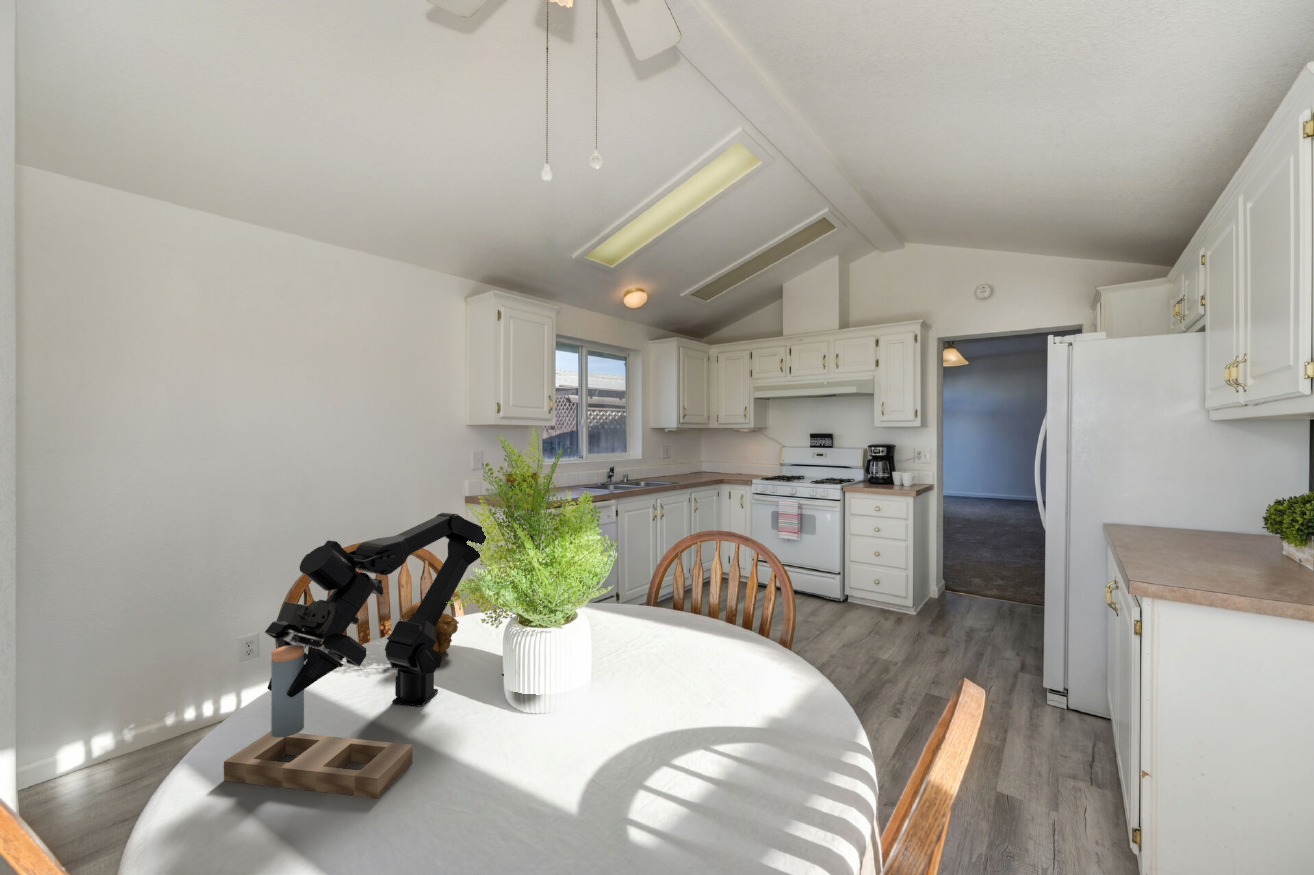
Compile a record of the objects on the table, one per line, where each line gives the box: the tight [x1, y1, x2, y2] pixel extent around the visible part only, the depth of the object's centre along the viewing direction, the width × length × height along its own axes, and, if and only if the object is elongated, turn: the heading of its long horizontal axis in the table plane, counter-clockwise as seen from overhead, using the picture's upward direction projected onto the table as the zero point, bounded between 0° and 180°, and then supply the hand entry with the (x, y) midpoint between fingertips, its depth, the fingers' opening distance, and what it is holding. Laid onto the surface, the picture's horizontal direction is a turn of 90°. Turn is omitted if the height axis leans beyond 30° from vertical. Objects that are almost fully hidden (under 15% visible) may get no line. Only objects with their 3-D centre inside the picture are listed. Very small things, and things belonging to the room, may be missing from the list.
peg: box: [270, 645, 305, 738], centre depth 90 cm, size 4×4×13 cm
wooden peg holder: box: [223, 730, 414, 799], centre depth 89 cm, size 26×9×3 cm, turn 82°
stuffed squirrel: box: [398, 600, 460, 655], centre depth 135 cm, size 10×14×13 cm
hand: (279, 693), depth 89 cm, fingers closed on peg, 4 cm apart
